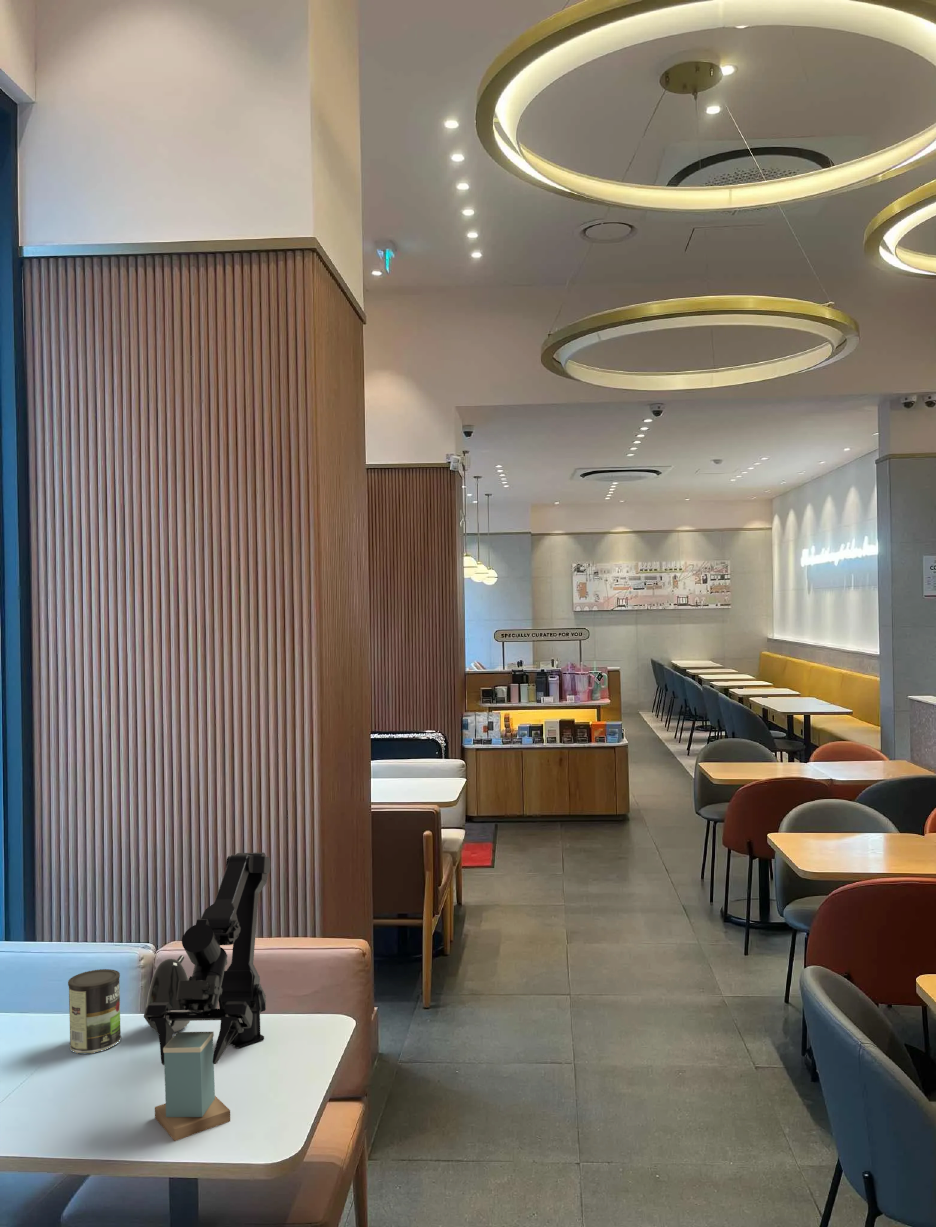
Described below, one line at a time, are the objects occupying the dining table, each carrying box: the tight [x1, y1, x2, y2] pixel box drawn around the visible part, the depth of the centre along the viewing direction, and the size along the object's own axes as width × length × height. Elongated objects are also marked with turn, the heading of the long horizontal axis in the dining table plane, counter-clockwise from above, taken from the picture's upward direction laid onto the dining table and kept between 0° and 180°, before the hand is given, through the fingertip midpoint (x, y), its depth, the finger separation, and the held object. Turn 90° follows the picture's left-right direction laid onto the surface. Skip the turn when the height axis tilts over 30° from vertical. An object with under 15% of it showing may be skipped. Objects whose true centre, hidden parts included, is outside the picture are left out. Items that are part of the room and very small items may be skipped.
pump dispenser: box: [145, 954, 191, 1033], centre depth 206 cm, size 10×10×15 cm
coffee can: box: [67, 968, 122, 1054], centre depth 199 cm, size 10×10×14 cm
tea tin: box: [163, 1031, 216, 1117], centre depth 166 cm, size 7×7×12 cm
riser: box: [154, 1095, 231, 1142], centre depth 166 cm, size 10×10×2 cm
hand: (188, 1064), depth 165 cm, fingers open, 9 cm apart
